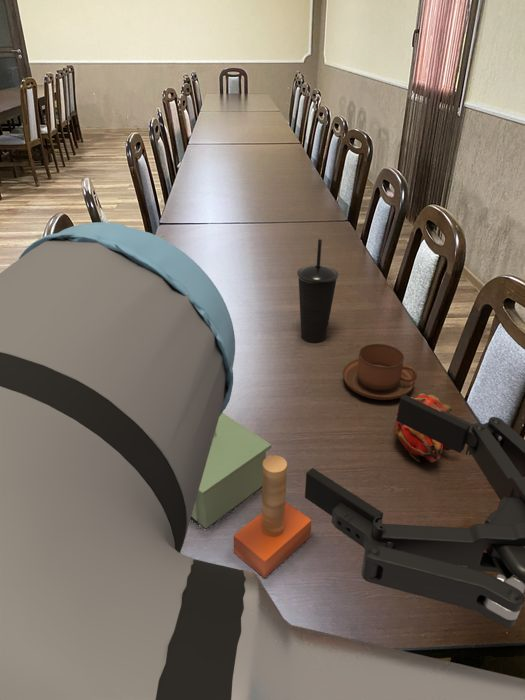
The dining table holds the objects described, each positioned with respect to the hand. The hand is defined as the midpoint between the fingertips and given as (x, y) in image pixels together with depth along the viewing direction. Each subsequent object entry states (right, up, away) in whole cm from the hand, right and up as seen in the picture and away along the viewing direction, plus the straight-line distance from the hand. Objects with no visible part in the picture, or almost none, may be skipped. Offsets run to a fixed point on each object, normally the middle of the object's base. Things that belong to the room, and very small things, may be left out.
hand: (358, 441), depth 47 cm
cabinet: (-17, -9, +27) cm, 33 cm away
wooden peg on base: (-7, -15, +17) cm, 24 cm away
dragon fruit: (+15, -7, +32) cm, 36 cm away
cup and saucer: (+11, +2, +45) cm, 47 cm away
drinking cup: (+2, +10, +60) cm, 60 cm away
